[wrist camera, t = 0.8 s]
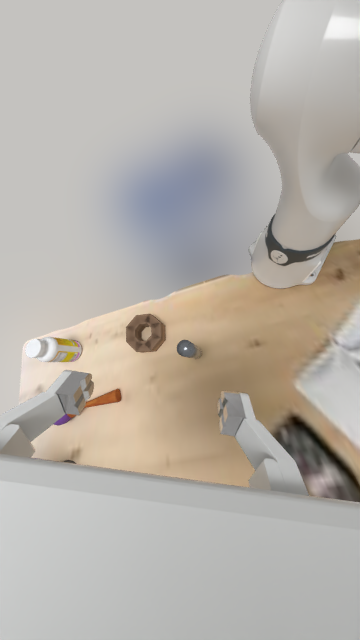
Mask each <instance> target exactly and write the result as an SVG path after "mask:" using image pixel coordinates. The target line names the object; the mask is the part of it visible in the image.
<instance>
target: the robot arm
mask: <svg viewBox="0 0 360 640" xmlns="http://www.w3.org/2000/svg"><path fill="white" fill-rule="evenodd" d="M250 103H251V114H252V119H253V123H254V126H255V129H256V131H257V133H258V134H259V135H260V136H261V137H262V138H263V139H264V140H265V141H266V143H267V144H268V145H269V147H270V149H271V150H272V152H273V153H274V156H275V158H276V160H277V163H278V165H279V169H280V172H281V178H282V192H281V196H280V200H279V204H278V207H277V210H276V214H275V215H274V216H273V217H272V219H271V221H270V223H269V225H268V226H266V228H265V229H264V231H263V232H261V233H260V235H259V237H258V240H257V241H255V242H254V243H253V244H252V245H251V246H250V247H249V253H250V255H251V259H252V262H251V266H252V271H253V273H254V275H255V277H256V278H257V279H258V280H259V281H260V282H261V283H263V284H265V285H267V286H269V287H273V288H289V287H292V286H295V285H310V284H312V283H313V282H314V281H315V280H316V278H317V275H318V273H319V271H320V269H321V267H322V265H323V263H324V261H325V259H326V257H327V255H328V253H329V251H330V249H331V247H332V245H333V243H334V241H335V238H336V235H335V234H336V232H337V230H338V229H339V228H340V227H341V226H342V225H343V224H344V223H345V221H346V220H347V219H348V218H349V217H350V216H351V214H352V213H353V212H354V211H355V210H356V209H357V207H358V206H359V204H360V167H359V166H358V164H357V163H356V162H355V161H354V160H353V159H352V158H351V157H350V156H349V155H348V153H349V152H353V153H360V0H282V2H281V4H280V5H279V7H278V9H277V10H276V12H275V14H274V16H273V18H272V20H271V22H270V24H269V26H268V28H267V31H266V33H265V36H264V38H263V40H262V43H261V46H260V49H259V52H258V55H257V58H256V62H255V66H254V71H253V76H252V82H251V94H250ZM310 275H312V276H310ZM91 379H92V375H91V374H89V373H83V372H77V371H70V370H65V371H63V372H62V374H61V375H60V376H59V377H58V378H57V379H56V381H55V382H54V383H53V384H52V385H51V386H50V388H49V389H48V390H47V391H46V392H42V393H40V394H38V395H37V396H35V397H33V398H31V399H29V400H27V401H26V402H24V403H22V404H20V405H18V406H16V407H15V408H13V409H11V410H9V411H8V412H5V413H3V414H2V415H0V640H360V503H358V502H351V501H344V500H336V499H329V498H322V497H315V496H309V494H308V492H307V489H306V487H305V484H304V482H303V480H302V477H301V475H300V472H299V470H298V467H297V465H296V462H295V461H294V460H293V459H292V457H291V456H290V455H289V454H288V453H287V452H286V451H285V450H284V448H283V447H282V446H281V445H280V444H279V443H278V442H277V441H276V439H275V438H274V437H273V436H272V435H271V434H270V433H269V432H268V430H267V429H266V428H265V427H264V426H263V425H262V424H261V423H260V421H258V420H256V418H255V415H254V412H253V408H252V405H251V402H250V398H249V395H248V394H246V393H238V392H232V391H222V392H221V398H220V399H219V401H218V415H219V417H220V421H219V427H220V434H224V435H231V436H235V438H236V440H237V442H238V443H239V445H240V446H241V448H242V450H243V451H244V453H245V454H246V456H247V458H248V459H249V461H250V462H251V464H252V466H253V467H254V469H255V472H254V474H253V475H252V476H251V478H250V479H249V485H250V488H249V487H242V486H234V485H227V484H220V483H212V482H205V481H198V480H190V479H183V478H176V477H169V476H161V475H154V474H147V473H139V472H132V471H125V470H117V469H110V468H103V467H96V466H88V465H81V464H74V463H66V462H59V461H52V460H44V459H37V458H31V456H32V455H33V453H34V452H35V448H34V447H33V445H32V444H31V441H32V440H34V439H35V438H36V437H38V436H39V435H40V434H41V433H43V432H44V431H45V430H46V429H48V428H49V427H50V426H51V425H53V424H54V423H55V422H56V421H58V420H59V419H60V418H62V417H63V416H64V415H65V414H74V415H80V414H81V412H82V410H83V409H84V407H85V405H86V402H85V401H86V400H87V399H89V398H90V397H91V395H92V393H93V389H94V383H93V382H92V381H91Z"/></svg>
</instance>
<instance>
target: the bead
mask: <svg viewBox="0 0 360 640" xmlns="http://www.w3.org/2000/svg"><path fill="white" fill-rule="evenodd" d="M149 326H150V327H151V332H152V335H151V336H150V337H149V339H148V340H147V341H143V340H142V339H141V332H142V330H143V329H144V328H145V327H149ZM164 341H165V325H163V324H162V323H161V322H160V321H159V320H158V319H156V318H155V317H154V316H153V315H151V314H144V315H136V316H135V317H134V319H133V320H132V321H131V322H130V323H129V324H128V326H127V327H126V342H127V343H128V344H129V345H130V346H131V347H132V348H133V349H134V350H135V351H136V352H153V351H157V349H158V348H159V347H160V346H161V345H162V344H163V342H164Z"/></svg>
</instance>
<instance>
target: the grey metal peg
mask: <svg viewBox="0 0 360 640" xmlns="http://www.w3.org/2000/svg"><path fill="white" fill-rule="evenodd" d="M177 352H178V353H179V354H180V355H181V356H184V357H189V358H195V359H197V358H200V357H201V355H202V351H201V349H200V348H198V347H197V346H195V345H194V344H192V343H191V342H190V341H188V340H182V341H180V342H179V343H178V345H177Z"/></svg>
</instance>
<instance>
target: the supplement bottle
mask: <svg viewBox="0 0 360 640" xmlns="http://www.w3.org/2000/svg"><path fill="white" fill-rule="evenodd" d="M25 351H26V355H27V356H28V357H29V358H37V359H38V360H39V361H41V362H73V361H75V360H77V359H78V358H79V357H80V355H81V351H82V348H81V345H80V343H79V342H77V341H74V340H67V339H60V338H53V337H45V338H43V339H41V340H40V339H33V340H31V341H30V342H29V343H28V344H27V346H26V350H25Z"/></svg>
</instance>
